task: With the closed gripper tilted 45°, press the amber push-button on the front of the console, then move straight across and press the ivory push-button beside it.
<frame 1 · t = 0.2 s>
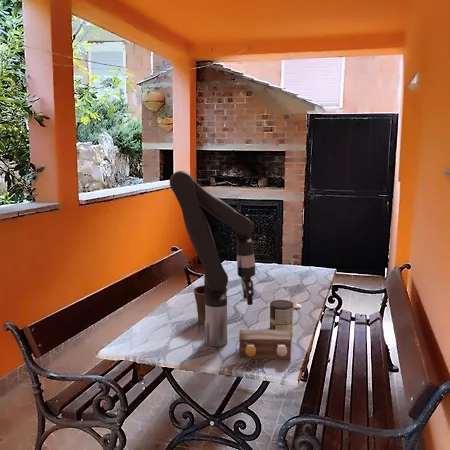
hand: (248, 301, 205), 18 cm above the table, tool pointing down, fingers open, 8 cm apart
plant pot: (210, 322, 230), on the table
coffee can: (281, 334, 215), on the table
ivory button: (281, 347, 188), point 5 cm above the table, slide at 0.0 cm
amber button: (250, 347, 188), point 5 cm above the table, slide at 0.0 cm
teacup and saucer: (290, 308, 251), on the table
console: (264, 353, 195), on the table
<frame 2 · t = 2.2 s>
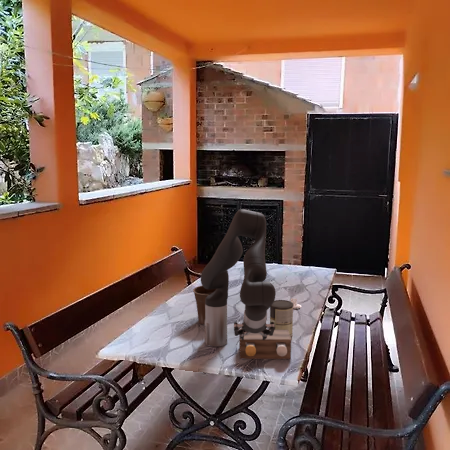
hand: (252, 337, 171), 16 cm above the table, tool tilted 45°, fingers open, 7 cm apart
nothing on the table moved.
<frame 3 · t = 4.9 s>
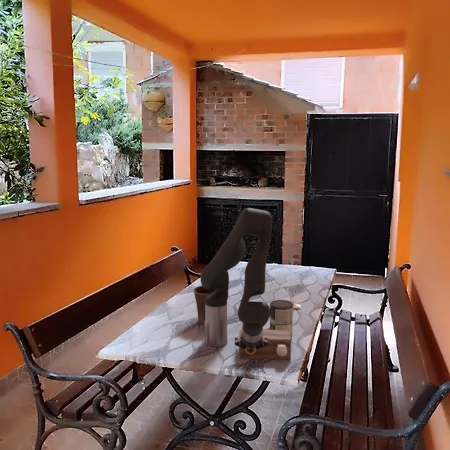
hand: (250, 350, 186), 5 cm above the table, tool tilted 45°, fingers closed
amber button: (250, 346, 189), point 5 cm above the table, slide at 1.5 cm, touching gripper
everything else where it was.
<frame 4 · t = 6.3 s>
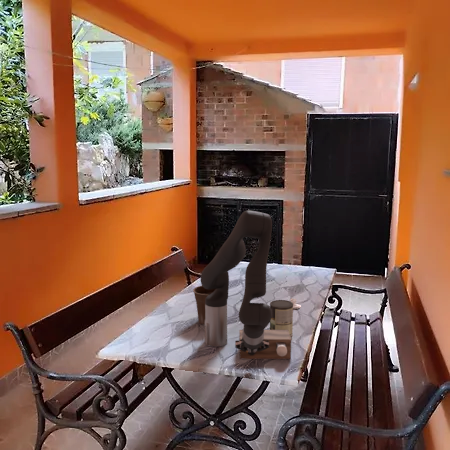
hand: (251, 353, 183), 5 cm above the table, tool tilted 45°, fingers closed
amber button: (250, 345, 191), point 5 cm above the table, slide at 2.6 cm
everything else where it was.
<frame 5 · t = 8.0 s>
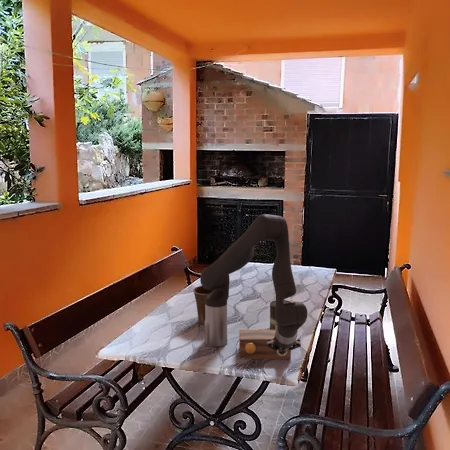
hand: (281, 351, 184), 5 cm above the table, tool tilted 45°, fingers closed
ivory button: (281, 347, 188), point 5 cm above the table, slide at 0.3 cm, touching gripper
everything else where it was.
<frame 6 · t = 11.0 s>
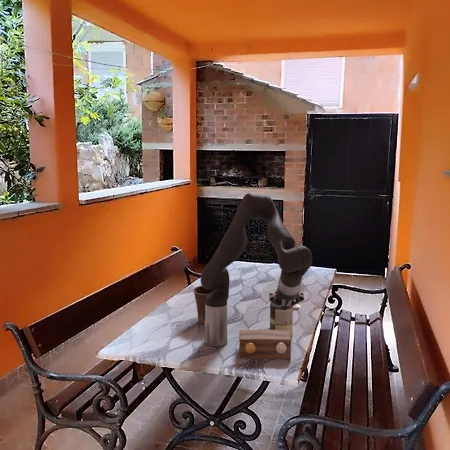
hand: (284, 308, 177), 24 cm above the table, tool tilted 45°, fingers closed
ivory button: (280, 345, 190), point 5 cm above the table, slide at 2.5 cm
everything else where it was.
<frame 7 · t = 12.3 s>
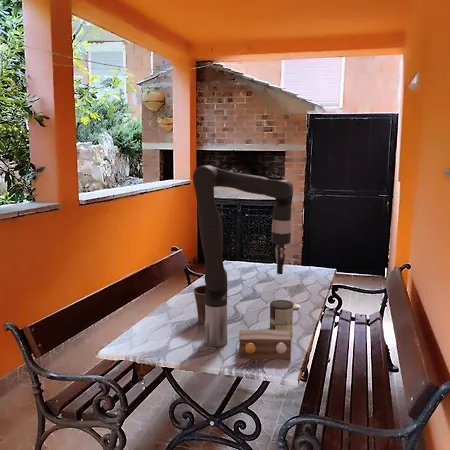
hand: (279, 273, 192), 32 cm above the table, tool pointing down, fingers closed
nothing on the table moved.
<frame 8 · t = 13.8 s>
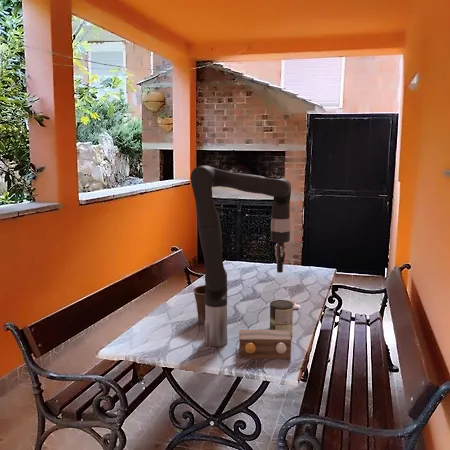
hand: (279, 272, 193), 33 cm above the table, tool pointing down, fingers closed
nothing on the table moved.
at the end: amber button slide at 2.6 cm; ivory button slide at 2.5 cm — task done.
